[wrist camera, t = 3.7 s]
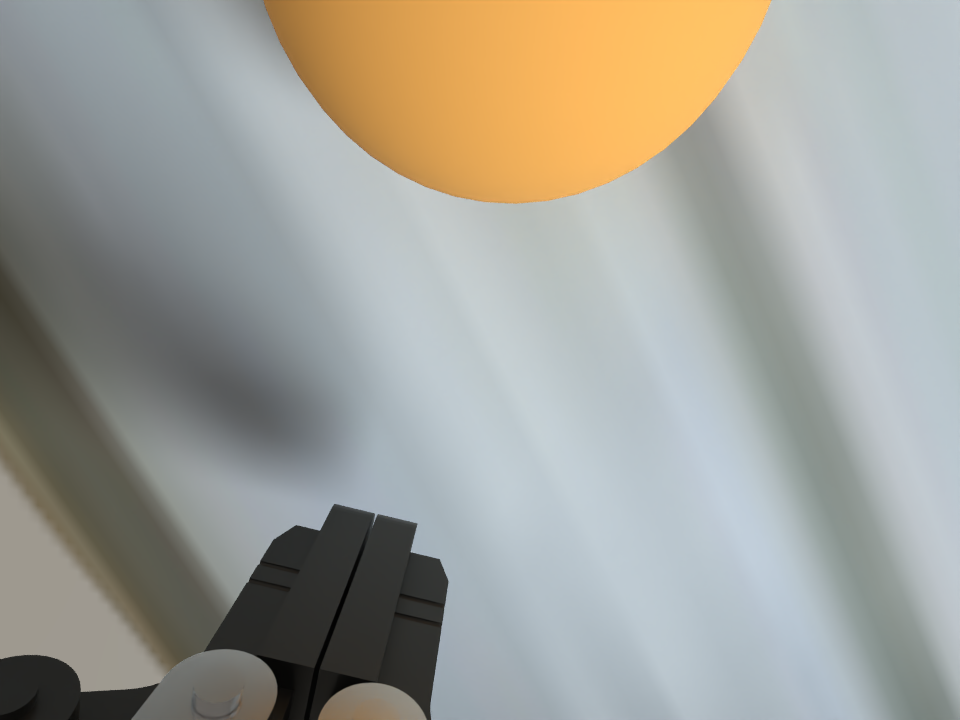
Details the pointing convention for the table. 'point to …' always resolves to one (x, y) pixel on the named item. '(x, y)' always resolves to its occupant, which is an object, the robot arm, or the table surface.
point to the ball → (515, 83)
